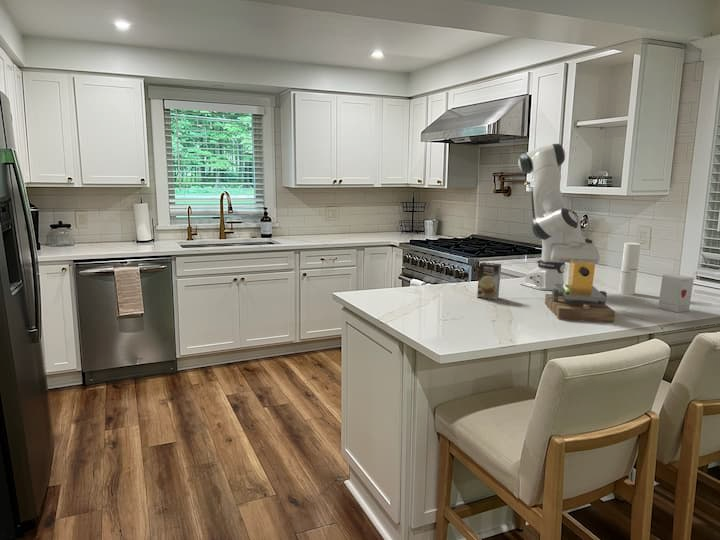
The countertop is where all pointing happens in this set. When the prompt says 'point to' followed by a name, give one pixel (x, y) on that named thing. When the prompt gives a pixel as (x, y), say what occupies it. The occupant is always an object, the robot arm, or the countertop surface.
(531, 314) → the countertop surface
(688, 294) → the supplement box
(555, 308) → the tribrach stand
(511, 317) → the countertop surface
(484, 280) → the coffee box
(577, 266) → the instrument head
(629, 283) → the cylindrical container
